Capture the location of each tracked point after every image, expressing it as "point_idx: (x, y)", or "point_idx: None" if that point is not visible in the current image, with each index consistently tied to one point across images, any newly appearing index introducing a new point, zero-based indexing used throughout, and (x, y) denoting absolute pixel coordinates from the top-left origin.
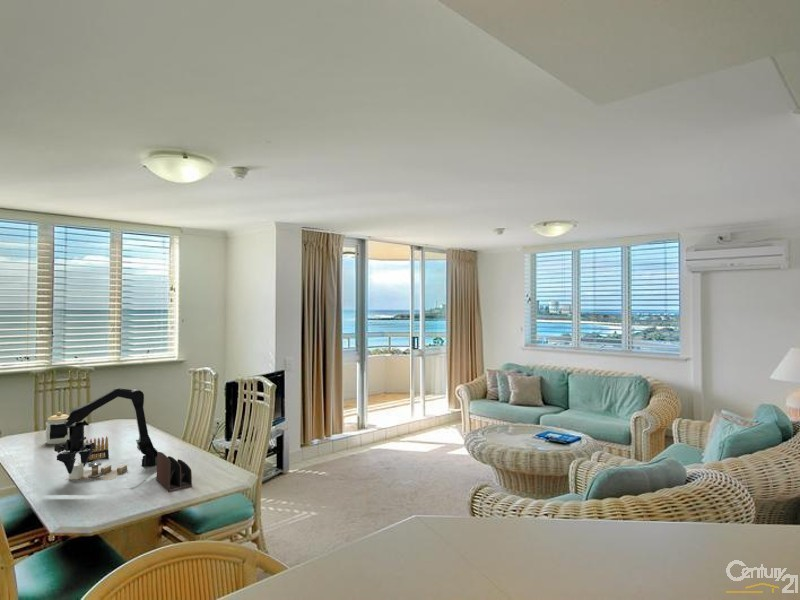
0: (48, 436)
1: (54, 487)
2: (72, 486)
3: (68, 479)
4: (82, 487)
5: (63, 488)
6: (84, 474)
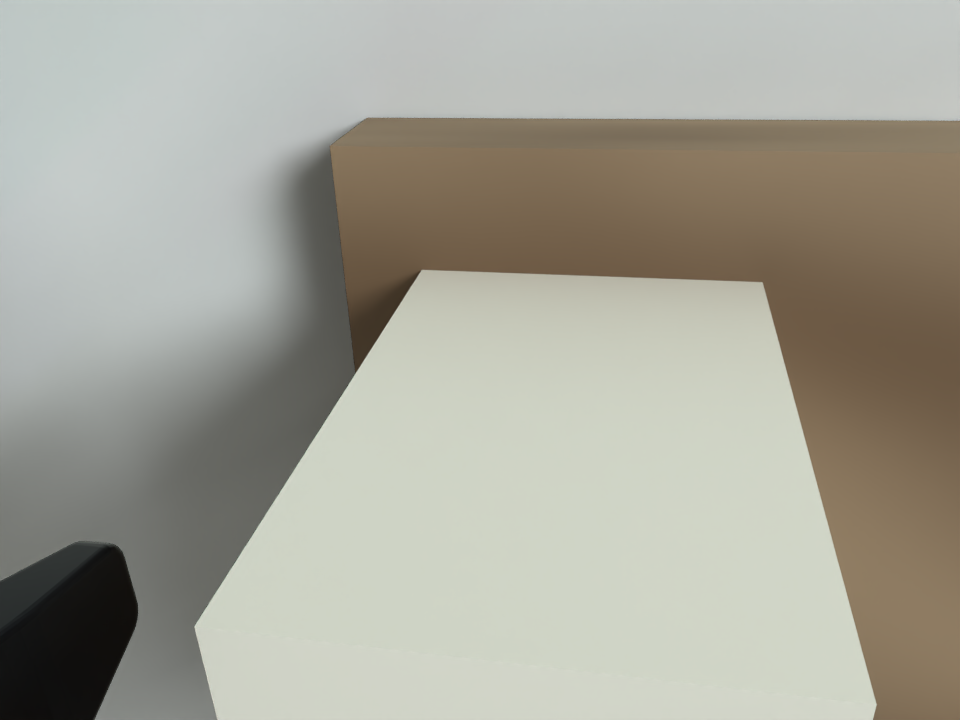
0: None
1: (16, 38)
2: (191, 483)
3: (408, 256)
4: (180, 693)
5: (29, 352)
6: (938, 506)
